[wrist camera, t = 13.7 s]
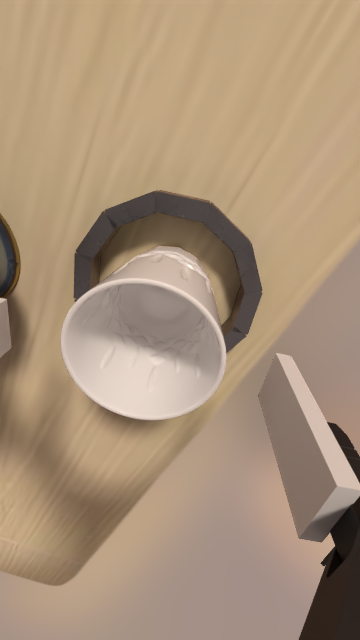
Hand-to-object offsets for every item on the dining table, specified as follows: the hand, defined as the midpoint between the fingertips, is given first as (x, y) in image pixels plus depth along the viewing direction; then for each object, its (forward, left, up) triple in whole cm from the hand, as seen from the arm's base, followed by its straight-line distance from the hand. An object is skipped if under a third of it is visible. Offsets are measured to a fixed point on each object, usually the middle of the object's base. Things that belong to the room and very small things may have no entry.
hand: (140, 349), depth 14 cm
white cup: (0, 0, -10) cm, 10 cm away
